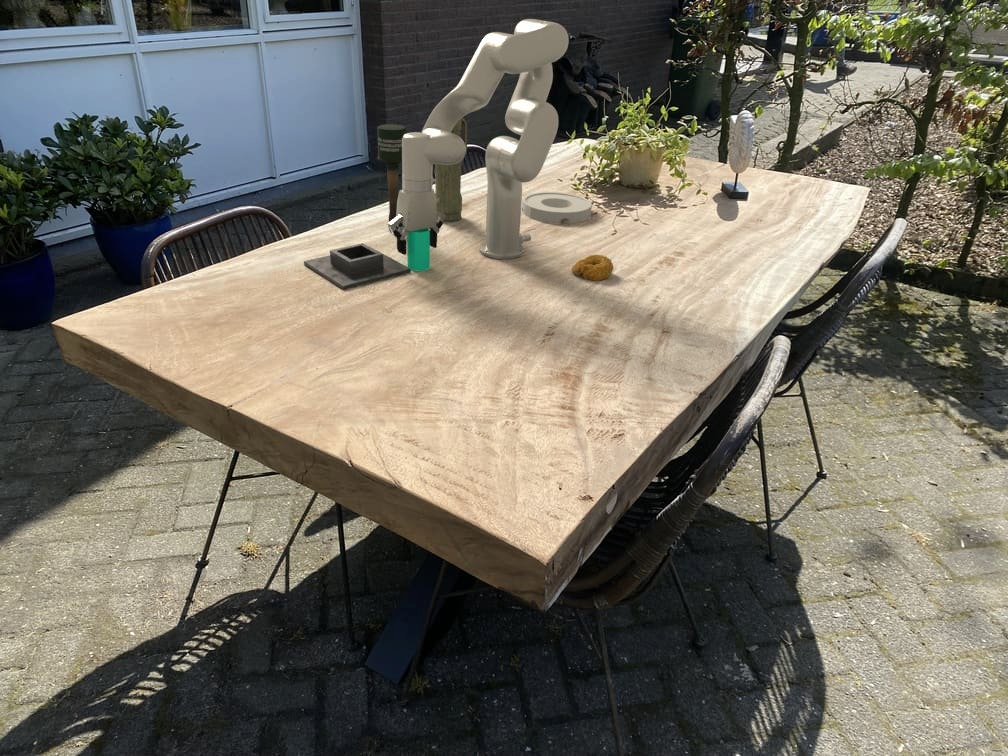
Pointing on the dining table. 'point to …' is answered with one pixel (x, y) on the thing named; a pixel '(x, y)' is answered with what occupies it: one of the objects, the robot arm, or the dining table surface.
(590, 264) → the bagel
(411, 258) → the candle
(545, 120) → the robot arm
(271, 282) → the dining table surface
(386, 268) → the socket holder
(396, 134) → the grenade
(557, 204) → the grey round base
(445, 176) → the olive green tall cylinder
